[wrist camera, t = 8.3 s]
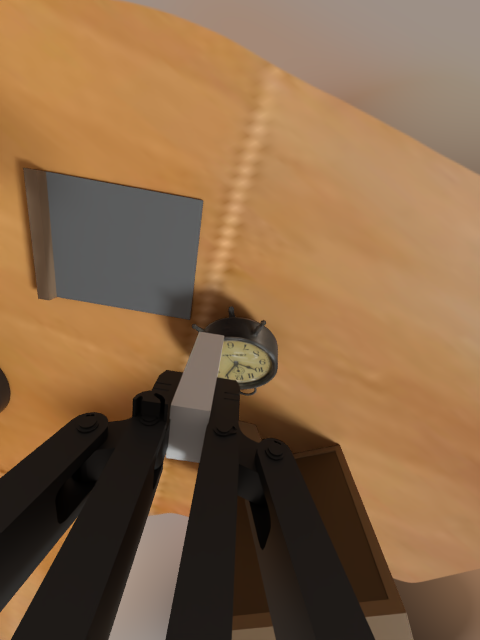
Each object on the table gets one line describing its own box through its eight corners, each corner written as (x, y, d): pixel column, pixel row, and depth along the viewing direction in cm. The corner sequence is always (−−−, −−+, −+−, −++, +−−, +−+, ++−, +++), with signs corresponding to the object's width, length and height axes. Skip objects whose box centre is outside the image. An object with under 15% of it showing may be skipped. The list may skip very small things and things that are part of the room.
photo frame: (343, 462, 50) (422, 681, 27) (229, 483, 53) (209, 695, 30) (327, 396, 45) (406, 596, 22) (201, 424, 48) (153, 623, 25)
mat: (51, 294, 40) (50, 295, 40) (40, 170, 34) (37, 170, 33) (190, 318, 41) (189, 319, 40) (203, 200, 34) (202, 200, 34)
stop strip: (48, 294, 40) (38, 298, 38) (35, 169, 34) (23, 167, 32) (58, 295, 40) (49, 300, 38) (48, 171, 34) (36, 170, 32)
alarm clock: (274, 330, 31) (281, 410, 41) (274, 301, 35) (280, 380, 45) (181, 333, 33) (209, 409, 43) (191, 305, 37) (215, 380, 47)
